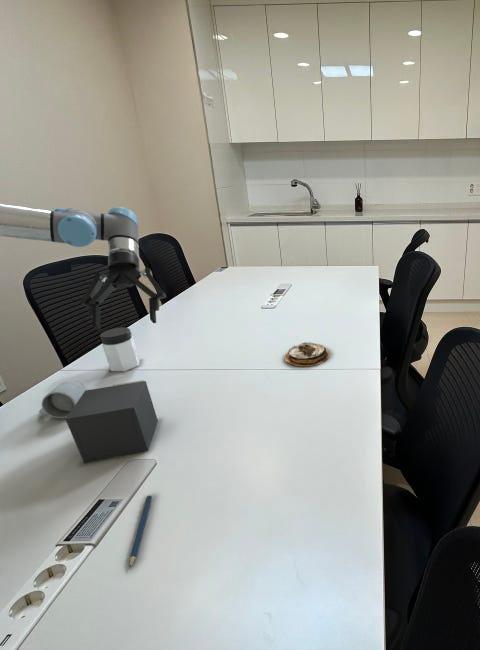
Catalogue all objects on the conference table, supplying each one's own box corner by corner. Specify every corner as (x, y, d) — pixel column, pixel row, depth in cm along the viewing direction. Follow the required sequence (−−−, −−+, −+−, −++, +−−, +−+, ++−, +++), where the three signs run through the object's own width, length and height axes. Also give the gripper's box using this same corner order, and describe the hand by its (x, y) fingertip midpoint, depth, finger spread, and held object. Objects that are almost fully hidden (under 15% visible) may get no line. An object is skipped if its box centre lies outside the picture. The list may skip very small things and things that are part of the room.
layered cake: (339, 354, 130) (338, 343, 128) (304, 371, 120) (303, 359, 118) (310, 342, 139) (309, 332, 137) (275, 357, 129) (274, 346, 127)
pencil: (152, 498, 75) (134, 568, 62) (146, 499, 75) (127, 570, 62) (151, 495, 75) (132, 564, 62) (145, 496, 75) (126, 566, 62)
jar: (146, 360, 130) (136, 327, 125) (130, 372, 122) (119, 337, 118) (121, 359, 131) (111, 326, 126) (104, 371, 123) (92, 337, 118)
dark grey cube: (101, 431, 95) (85, 390, 90) (158, 420, 98) (145, 380, 94) (83, 463, 85) (65, 419, 80) (148, 450, 88) (133, 407, 83)
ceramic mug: (93, 399, 108) (83, 375, 105) (80, 416, 101) (69, 391, 98) (51, 405, 106) (40, 381, 103) (34, 423, 99) (21, 397, 96)
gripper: (174, 260, 117) (179, 323, 110) (80, 269, 111) (79, 336, 104) (167, 246, 110) (171, 312, 104) (66, 254, 104) (64, 325, 97)
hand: (125, 324), depth 104 cm, fingers open, 13 cm apart
